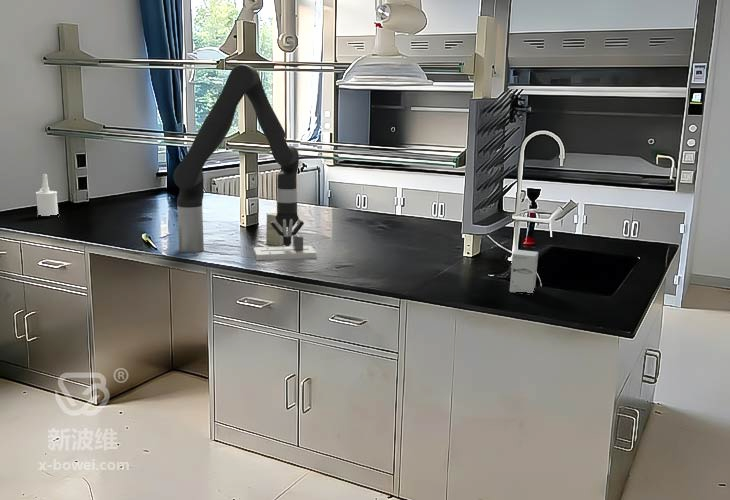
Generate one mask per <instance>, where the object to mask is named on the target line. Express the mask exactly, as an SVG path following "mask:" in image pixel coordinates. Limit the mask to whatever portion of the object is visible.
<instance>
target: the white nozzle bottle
mask: <svg viewBox="0 0 730 500" xmlns="http://www.w3.org/2000/svg"><path fill="white" fill-rule="evenodd" d="M48 181H49V180H48V174H46V173H42V183H41V188H39V190H38V191H36V192H35V196H36V206H37V207H36V208H37V216H38V215H41V216H50V215H57V214H59V207H58V205H59V204H58V191H56V190H50V187H49V182H48Z"/></svg>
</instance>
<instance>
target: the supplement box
mask: <svg viewBox="0 0 730 500" xmlns="http://www.w3.org/2000/svg"><path fill="white" fill-rule="evenodd" d="M511 256H512V257H511V258H512V259H511V269H510V279H509V280H510V281H509V282H510V283H509V291H510V292H509V293H516V292H527V293H533V294H534V292H535V290H534V288H535V289H536V281H537V271H538V270H537V269H538V261H539V251H533V250H525V249H523V250H522V249H515V250H514V251H513V253H512V255H511ZM533 291H534V292H533Z"/></svg>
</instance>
